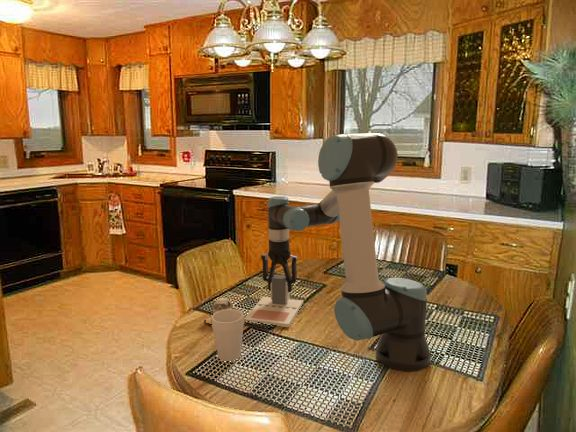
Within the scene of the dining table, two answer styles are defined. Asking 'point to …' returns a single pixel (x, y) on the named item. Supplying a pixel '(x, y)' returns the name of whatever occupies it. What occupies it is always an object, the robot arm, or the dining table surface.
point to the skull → (222, 304)
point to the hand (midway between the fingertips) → (280, 299)
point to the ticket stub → (280, 295)
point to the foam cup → (228, 333)
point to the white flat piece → (272, 315)
